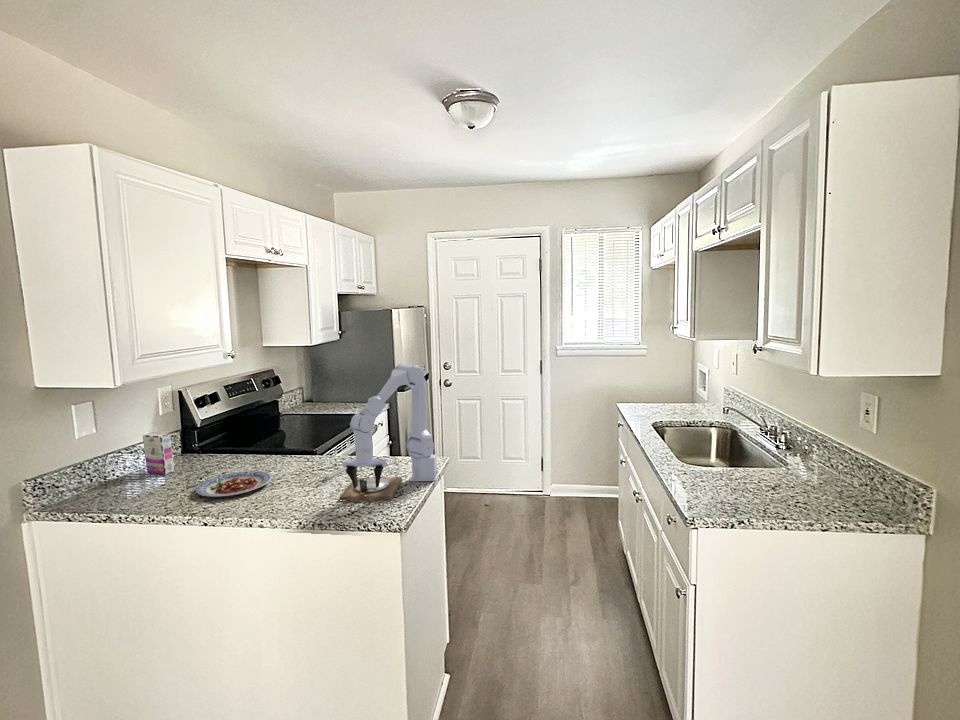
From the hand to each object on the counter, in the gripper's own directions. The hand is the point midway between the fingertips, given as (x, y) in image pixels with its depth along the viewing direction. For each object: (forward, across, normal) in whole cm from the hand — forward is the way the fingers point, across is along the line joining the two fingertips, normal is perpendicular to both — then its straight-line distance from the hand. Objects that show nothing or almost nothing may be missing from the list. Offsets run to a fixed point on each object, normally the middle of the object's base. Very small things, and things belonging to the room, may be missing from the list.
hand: (366, 486), depth 181 cm
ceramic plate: (+4, -54, +12) cm, 56 cm away
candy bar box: (+4, -96, +32) cm, 101 cm away
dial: (+2, 0, +6) cm, 7 cm away
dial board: (+4, 0, +6) cm, 8 cm away
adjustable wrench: (+5, -18, +29) cm, 35 cm away
